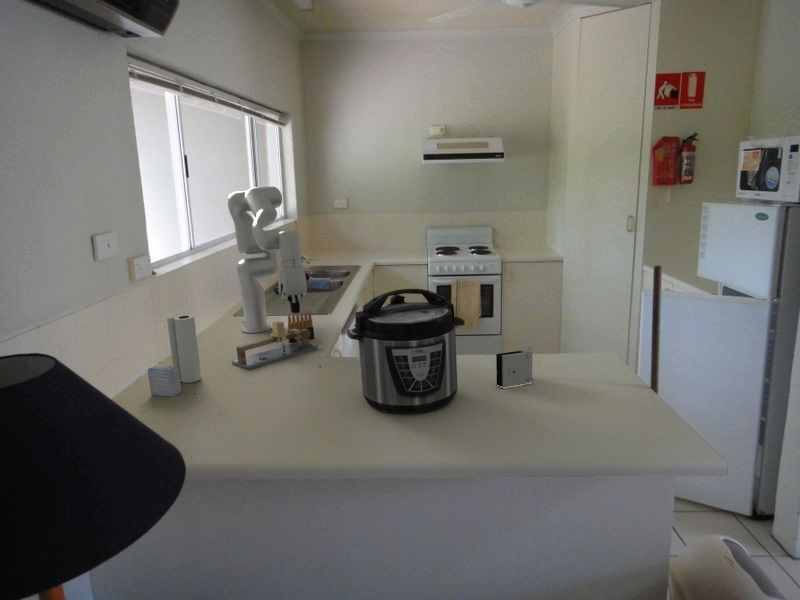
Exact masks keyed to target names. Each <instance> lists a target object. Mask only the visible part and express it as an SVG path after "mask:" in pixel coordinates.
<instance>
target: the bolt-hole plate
mask: <svg viewBox="0 0 800 600" xmlns="http://www.w3.org/2000/svg"><path fill="white" fill-rule="evenodd" d="M300 345H301V348H298V342H296V343H292V344H290V343H288V344H285V352H283V350H282V346H279V347H276V348H273V349H269V350H266V351H265V350H264V351H261V352H258V353H255V354H250V355H246V362H245V363H242V364H241V363H238V358H237V359H233V360H231V363H232V364H231V365H234V366H237V367H241V368H244V369H246V370H249V371H250V370H254V369H256V368H260V367H262V366H266V365H269V364H273V363H276V362H280V361H283V360H286V359H289V358H292V357H295V356H299V355H303V354H305V353H309V352H313V351H316V350H318V349H319V347H318V345H316V344H315V345H314V344H311V343H309V344H307V345H303V344H302V341H301V342H300Z"/></svg>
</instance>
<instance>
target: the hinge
mask: <svg viewBox="0 0 800 600" xmlns="http://www.w3.org/2000/svg"><path fill="white" fill-rule="evenodd" d="M495 356H496V357H495V359H496V360H495V361H496V362H495V363H496V364H495V367H496V370H495V371H496V386H497V385H499V387H500V386H502V387H508V386H514V385H520V384H526V382H527V383H530V382H532V383H533V350H532V346H531V345H528V346H527V347H525V348H524V349H518V350H511V351H503V352H497V353H496V355H495ZM526 385H527V384H526ZM499 387H498V388H499Z"/></svg>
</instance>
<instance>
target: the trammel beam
mask: <svg viewBox="0 0 800 600" xmlns="http://www.w3.org/2000/svg"><path fill="white" fill-rule="evenodd" d="M286 333H287V335H288V336H286V339H287V340H288V339H290V338H293V337H297V342H298V348H301V345H300V336H301V339H302V341H301V342H302V344H303V345H307V344H310V340H309V334H308V329H301V330H298V329H292V330H290V333H288V332H286ZM274 343H275V344H276V343H277V340H276V337H271V336H270V337H268V338H264V339H261V340H257V341H254V342H253V341H252V342H249V343H246V344H242V345H238V346H236V357H237V359H238V363H241V364H242V363H245V362H246V357H247V355H246V351H249V350H253V349H256V348H260V347H264V346H267V345H272V344H274Z"/></svg>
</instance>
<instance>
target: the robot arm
mask: <svg viewBox="0 0 800 600" xmlns="http://www.w3.org/2000/svg"><path fill="white" fill-rule="evenodd" d="M282 203H283V195H282V193H281V191H280V189H279V188H278V187H276V186H256V187H250V188H248V189H247V190H239V191H234V192H232V193H230V194H229V195H228V198H227V207H228V211H229V214H230V216H231V218H232V222H233V224H234V231H235V238H236V246H237V250H238V252H239V253H240V255H244V256H249V255H250V256H251V255H261V254H263V256H255V257H254V256H253V257H249V258H248V257H247V258H242V259H240V260H239V261H238V262H237V264H236V273H237V276H238V280H239V284H240V285H239V286H240V290H241V291H240V293H241V299H242V300H241V302H242V310H243V311H242V313H243V320H241V323H242V324H244V325H243V326H242V327H241V328H240V329H241V332H242V333H246V334H257V333H263V332H267V331H269V330H271V329H272V325H271V324H269V323H268V320H267V319H268V318H267V310H266V299H265V290H264V287H263V286H262V284H261V283H260V282H258V280H263V279H264V280H265V279H269V278H274V277H276V276H277V275H278V293H279V295H281V300H287V302H288V303H290V311H291V313H292V314H293V313H294V314H297V313H298V314H301V311H300V310H301V307H300V306H301V305H300V304H301V303H300V302H301V301H302V298H303V297H304V296H307V290H308V283H307V276H306V272H305V269H304V266H303V263H304V259H302V253H301V251H302V250H301V243H300V240H301V239H300V232H299V231H298V230H296V229H289V228H282V229H281V228H280V229H269V230H267V229H266V230H264V228H266V227H268V226H269V225H271V224H273V223H274V222H275V221H276V219H277V216H278V212H277V208H280V207H281V206H282ZM249 212H251V213H252V215H253V216H254V218H253V217H252V216H251V214H250V213H249ZM277 250H278V251H279V257H280V258H279V259H280V268H279V266H278V265H279V264H278V257H277V256H278V254H277Z"/></svg>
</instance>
